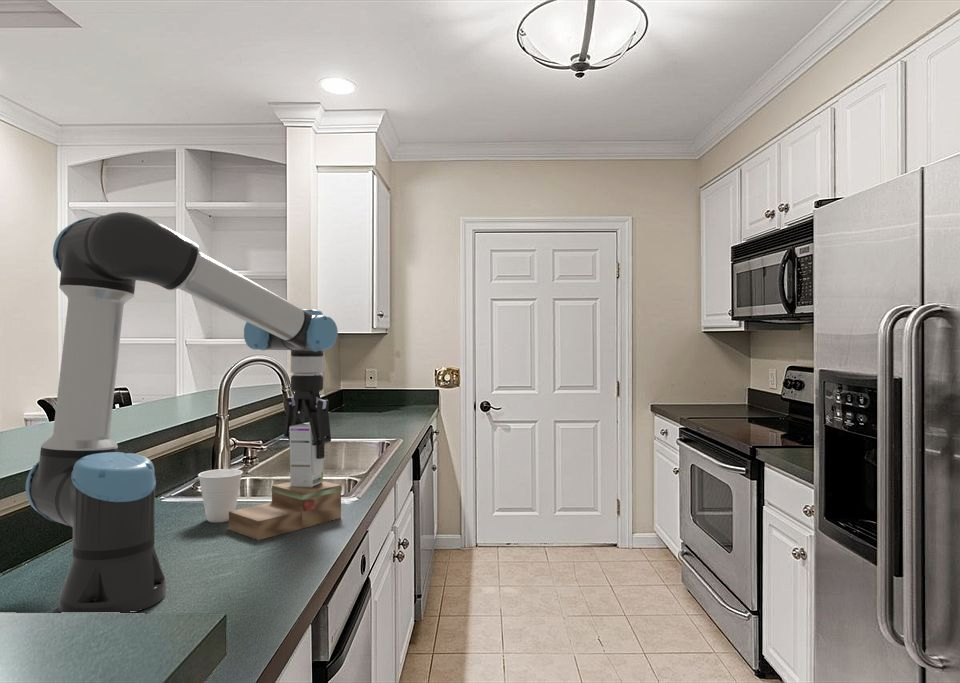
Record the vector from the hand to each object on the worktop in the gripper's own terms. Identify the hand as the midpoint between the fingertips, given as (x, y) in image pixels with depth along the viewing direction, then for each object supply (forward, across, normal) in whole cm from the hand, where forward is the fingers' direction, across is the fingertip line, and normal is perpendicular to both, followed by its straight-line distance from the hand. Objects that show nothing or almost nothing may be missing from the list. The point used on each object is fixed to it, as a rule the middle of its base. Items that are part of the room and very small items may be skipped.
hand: (306, 469), depth 155 cm
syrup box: (+4, 0, 0) cm, 4 cm away
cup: (+12, +15, +14) cm, 23 cm away
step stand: (+12, 0, +6) cm, 13 cm away
